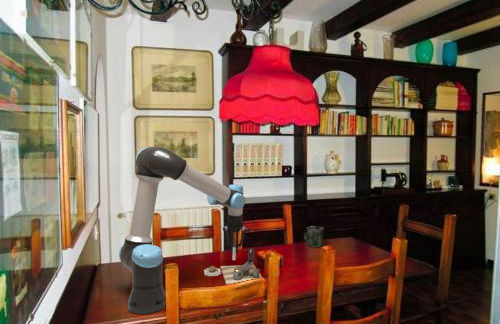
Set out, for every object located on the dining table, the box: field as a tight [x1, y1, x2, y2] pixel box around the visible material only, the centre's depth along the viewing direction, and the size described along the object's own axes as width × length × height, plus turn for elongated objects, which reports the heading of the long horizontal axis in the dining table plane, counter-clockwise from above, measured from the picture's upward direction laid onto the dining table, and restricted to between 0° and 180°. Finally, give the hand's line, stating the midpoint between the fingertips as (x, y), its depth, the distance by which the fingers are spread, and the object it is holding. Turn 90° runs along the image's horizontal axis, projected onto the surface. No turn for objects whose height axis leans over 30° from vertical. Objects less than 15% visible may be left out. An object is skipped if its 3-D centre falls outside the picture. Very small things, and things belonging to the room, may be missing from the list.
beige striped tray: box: [219, 264, 263, 285], centre depth 174 cm, size 23×18×5 cm
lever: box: [233, 248, 255, 276], centre depth 173 cm, size 20×5×10 cm, turn 156°
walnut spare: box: [208, 265, 217, 273], centre depth 175 cm, size 4×4×4 cm
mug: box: [303, 225, 325, 248], centre depth 228 cm, size 11×15×12 cm
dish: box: [203, 267, 222, 277], centre depth 175 cm, size 8×8×2 cm
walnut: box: [248, 268, 254, 276], centre depth 170 cm, size 4×4×4 cm
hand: (234, 259), depth 181 cm, fingers closed
